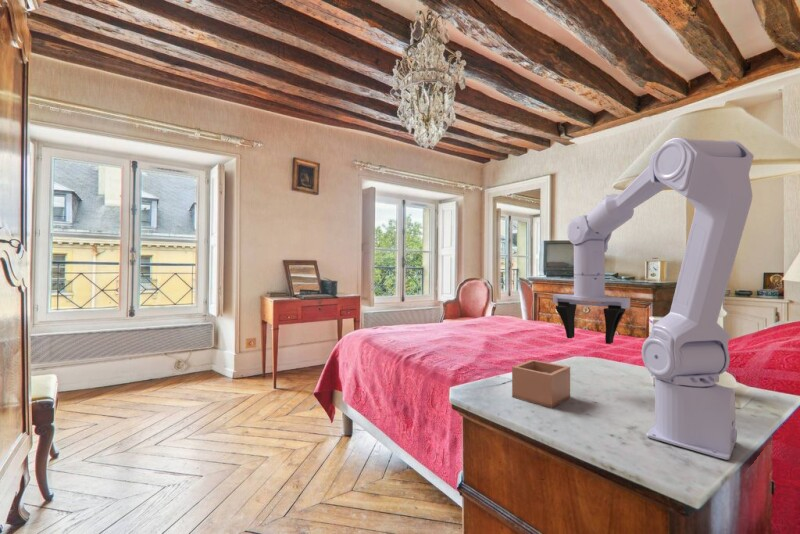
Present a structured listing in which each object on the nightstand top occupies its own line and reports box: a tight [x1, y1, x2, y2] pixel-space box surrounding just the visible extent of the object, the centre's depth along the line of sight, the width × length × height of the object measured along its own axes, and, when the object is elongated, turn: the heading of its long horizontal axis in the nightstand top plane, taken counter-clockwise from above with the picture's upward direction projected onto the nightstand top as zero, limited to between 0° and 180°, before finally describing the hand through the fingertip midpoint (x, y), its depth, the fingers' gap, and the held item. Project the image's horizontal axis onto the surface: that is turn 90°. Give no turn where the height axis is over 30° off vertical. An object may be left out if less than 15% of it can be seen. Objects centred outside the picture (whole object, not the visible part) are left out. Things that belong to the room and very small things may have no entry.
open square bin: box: [511, 359, 571, 409], centre depth 74 cm, size 8×8×6 cm
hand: (589, 340), depth 77 cm, fingers open, 7 cm apart
